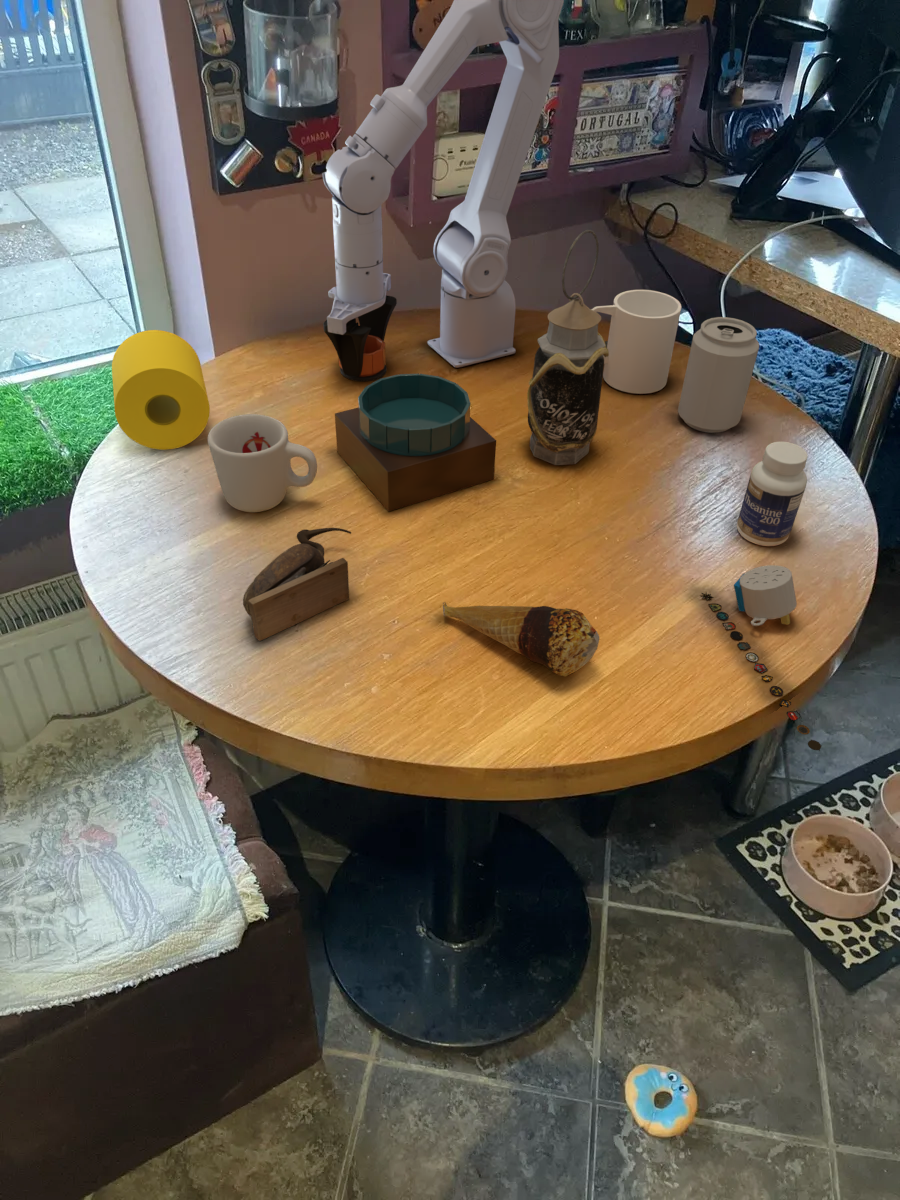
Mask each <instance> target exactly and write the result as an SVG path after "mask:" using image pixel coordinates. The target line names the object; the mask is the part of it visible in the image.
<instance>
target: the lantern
mask: <svg viewBox="0 0 900 1200" xmlns="http://www.w3.org/2000/svg"><path fill="white" fill-rule="evenodd" d="M587 233H590V234H591V235H593V237H594V241H595V257H594V258H595V259H594V263H593V267H592V270H591V273H590V276H589V277H588V280H587V281H586V284H585V285H584V287H583V288H582V289H581V291H580V292H574V293H572V294H571V295H568V293H567V291H566V286H565V279H566V277H565V275H566V270H567V265H568V262H569V259H570V256H571V253H572V251H573V249H574V248H575V245H576V244H577V242H578V241H579V240H580V239H581V238H582V237H583V236H584V235H585V234H587ZM599 245H600V244H599V238H598V236H597V234H596V233H595V231H594V230H592V229H586V230H583V231H581V233H579V234H578V236H577V237H575V239H574V240H573V242H572V244H571V245H570V247H569V249H568V252H567V254H566V257H565V260H564V264H563V268H562V274H561V288H562V292H563V295H564V297H565V298H566V299H568V301H569V302H567V303H566V304H564V305H562V306H559V307H557V308H554V309H553V310H551V311H550V312H549V313H548V314H547V320H548V321H549V322H548V327H547V332H546V333H545V334H543V335H541V336H540V337H538V338H537V343H538V345H539V347H538V348H537V350H536V352H535V355H534V361H533V362H534V363H533V369H532V377H531V378H530V379H529V381H528V385H529V386H528V389H527V397H526V398H527V399H526V400H527V424H528V427H529V429H530V432H531V435H530V438H529V448H530V450H531V453H532V455H533V457H535V458H536V459H539V460H541V461H544V462H547V463H549V464H551V465H554V466H566V465H576V464H577V463H578V462H579V461H581V460H582V459H583V458H584V457H586V456H587V455H588V454H589V451H590V444H591V442H592V441H593V440H594V437H595V434H596V433H597V429H598V421H599V413H600V412H599V411H600V403H601V393H602V385H603V371H604V357H603V355H604V356H605V357H608V356H609V351H608V349H606V345H605V339H604V337H603V336H602V334H601V333H599V323H600V322H601V320H602V316H601V315H600V314H599V312H595V311H593V310H591V309H592V308H590V307H588V306H587V305H586V304H585V303H584V298H583V297H582V295H583V293H584V292H585V291H586V290H587V288H588V287H589V285H590V283H591V281H592V279H593V276H594V274H595V271H596V268H597V265H598V264H597V263H598V260H599V251H600V248H599Z"/></svg>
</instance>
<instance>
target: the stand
mask: <svg viewBox="0 0 900 1200" xmlns="http://www.w3.org/2000/svg"><path fill="white" fill-rule="evenodd" d="M334 422H335V423H334V424H335V439H336V441H335V442H336V453H337V454H338V455H339V456H340V457H341V458H342V460H344V462H345V463H346V464H347V465H348V466H349V468H350V469H351V470H352V471H353V472H354V473H355V474H356V476H358V478H359V479H360V480H361V481H362V483H364V485H365V486H366V487H367V488H368V490H369V491H370V492H371V493H372V494H373V495H374V497H376V499H377V500H378V501H379V502H380V503H381V504H382V506H383V507H384V508H385V510H387V512H392V511H395V510H398V509H401V508H405V507H409V506H412V505H415V504H419V503H421V502H424V501H427V500H431V499H434V498H437V497H441V496H444V495H447V494H451V493H454V492H456V491H461V490H464V489H467V488H469V487H474V486H477V485H480V484H482V483H486V482H489V481H490V482H491V481H493V480H495V469H496V467H495V466H496V454H497V453H496V452H497V439H496V438H494V436H492V435H491V434H490V433H489V432H488V431H487V430H485V428H484V427H483V426H481V425H480V424H479V423H478V422H477V421H476V420H475V419H473V417H472V416H470V426H469V429H468V433H467V436H466V437H465V439H464V440H463V441H462V442H461V443H460V444H458V445H457V446H455V447H454V448H452V449H449V450H447V451H444V452H441V453H437V454H433V455H426V456H404V455H397V454H392V453H388V452H385V451H382V450H380V449H378V448H376V447H374V446H372V445H371V444H369V443H368V442H367V441H366V440H365V439H364V437H363V436H362V434H361V432H360V424H359V407H355V408H351V409H347V410H343V411H339V412H335V413H334Z"/></svg>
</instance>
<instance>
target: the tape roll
mask: <svg viewBox="0 0 900 1200" xmlns="http://www.w3.org/2000/svg"><path fill="white" fill-rule="evenodd" d="M200 360H201V359H200V358H199V355H198V353H197V352H196V350H195V349H194V348H193V346H192V345H191V344H190V343H189V342H188V341H187V340H185V339H184V338H182V337H181V336H180V335H178V334H175V333H173V332H170V331H167V330H160V329H148V330H142V331H139V332H137V333H134V334H132V335H130V336H128V337H127V338H125V340H123V341H122V343H120V344H119V346H118V347H117V348H116V350H115V352H114V354H113V358H112V360H111V376H112V391H113V405H114V416H115V419H116V422H117V424H118V426H119V427H120V429H121V430H122V432H123V433H124V434H125V435H126V436H127V437H128V438H129V439H130V440H132V441H134V443H137V445H139V446H140V445H141V446H142V447H144V448H145V447H146V448H149V449H153V450H161V451H162V450H163V451H167V450H174V449H178V448H179V449H180V448H182V447H185V446H187V445H188V444H190V443H192V442H194V440H196V439H198V438H199V436H200V435H201V434H202V433H203V432H204V430H205V428H206V427H207V425H208V422H209V419H210V414H211V413H210V411H211V409H210V402H209V397H208V392H207V388H206V383H205V378H204V373H203V369H202V364H201V361H200Z"/></svg>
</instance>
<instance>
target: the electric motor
mask: <svg viewBox="0 0 900 1200" xmlns="http://www.w3.org/2000/svg"><path fill="white" fill-rule="evenodd" d="M792 572H793V571H791V569H789V568H788V567H786V566H783V565H775V564H774V565H773V564H768V565H762V566H761V565H760V566H758V567H754V568H752V569H750V570H748V571H746V572H745V573H743V574H741V576H740V577H739V579H737V580H736V581H735V583H734V584H733V588H734V594H735V599H736V603H737V608H738V612H743V613H744V612H745V613H746V615H747V616H748V617H750V618H752V620H751V621H750V625H752V627H760V626H762V625H764V624H765V622H766V621H767V620H775V619H780V624H781V625H787V626H788V625H790V624H791V618H790V614H791V613H792V612H793V611H794V610H795V609H796V607H797V605H798V603H797V596H796V590H795V586H794V579H793V573H792Z"/></svg>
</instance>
